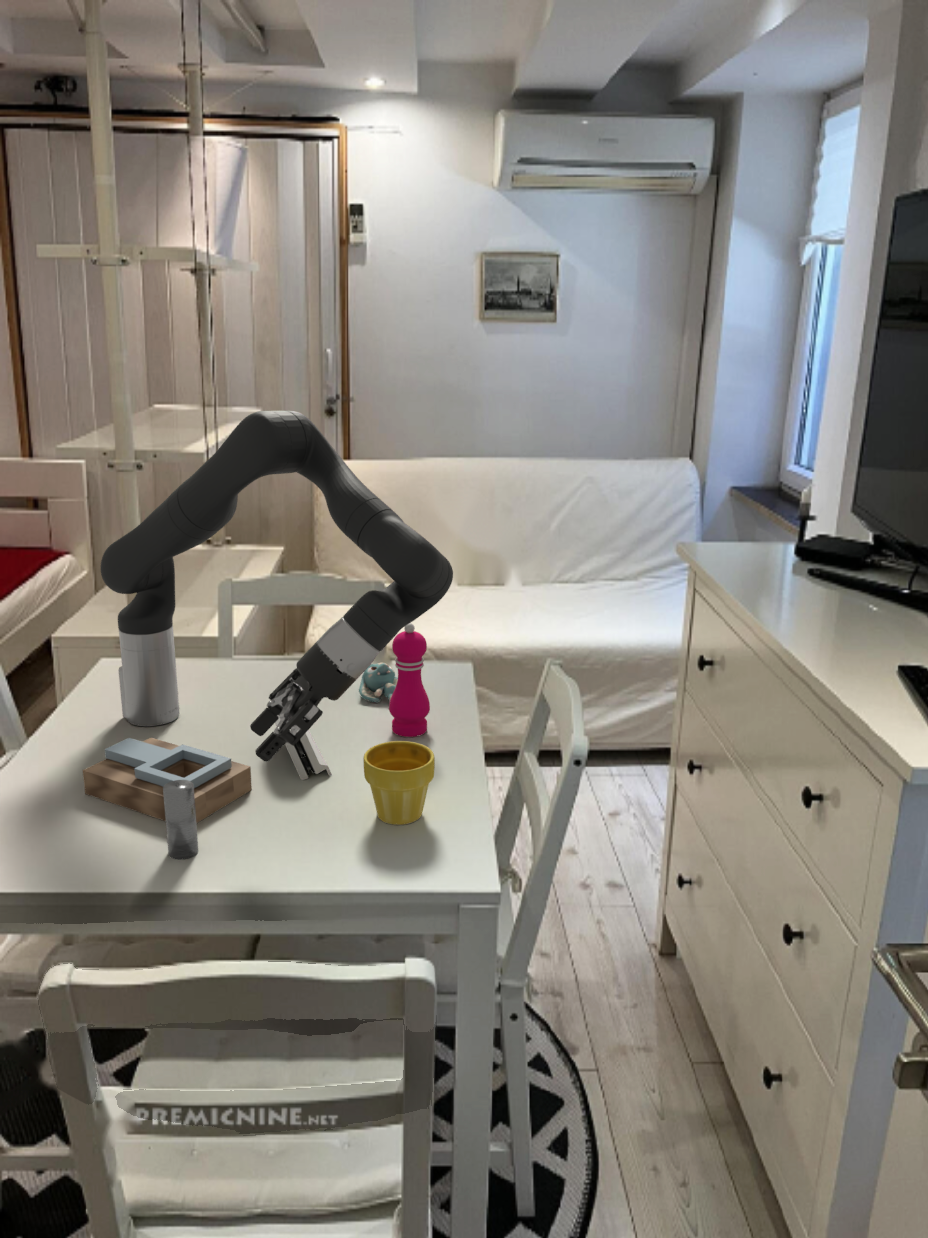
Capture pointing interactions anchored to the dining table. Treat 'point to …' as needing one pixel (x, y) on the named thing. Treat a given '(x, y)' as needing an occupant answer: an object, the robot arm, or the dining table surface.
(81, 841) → the dining table surface
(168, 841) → the pin
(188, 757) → the link
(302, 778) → the white game console
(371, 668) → the stuffed animal
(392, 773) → the plant pot
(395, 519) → the robot arm
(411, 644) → the pepper mill
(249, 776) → the wooden block
